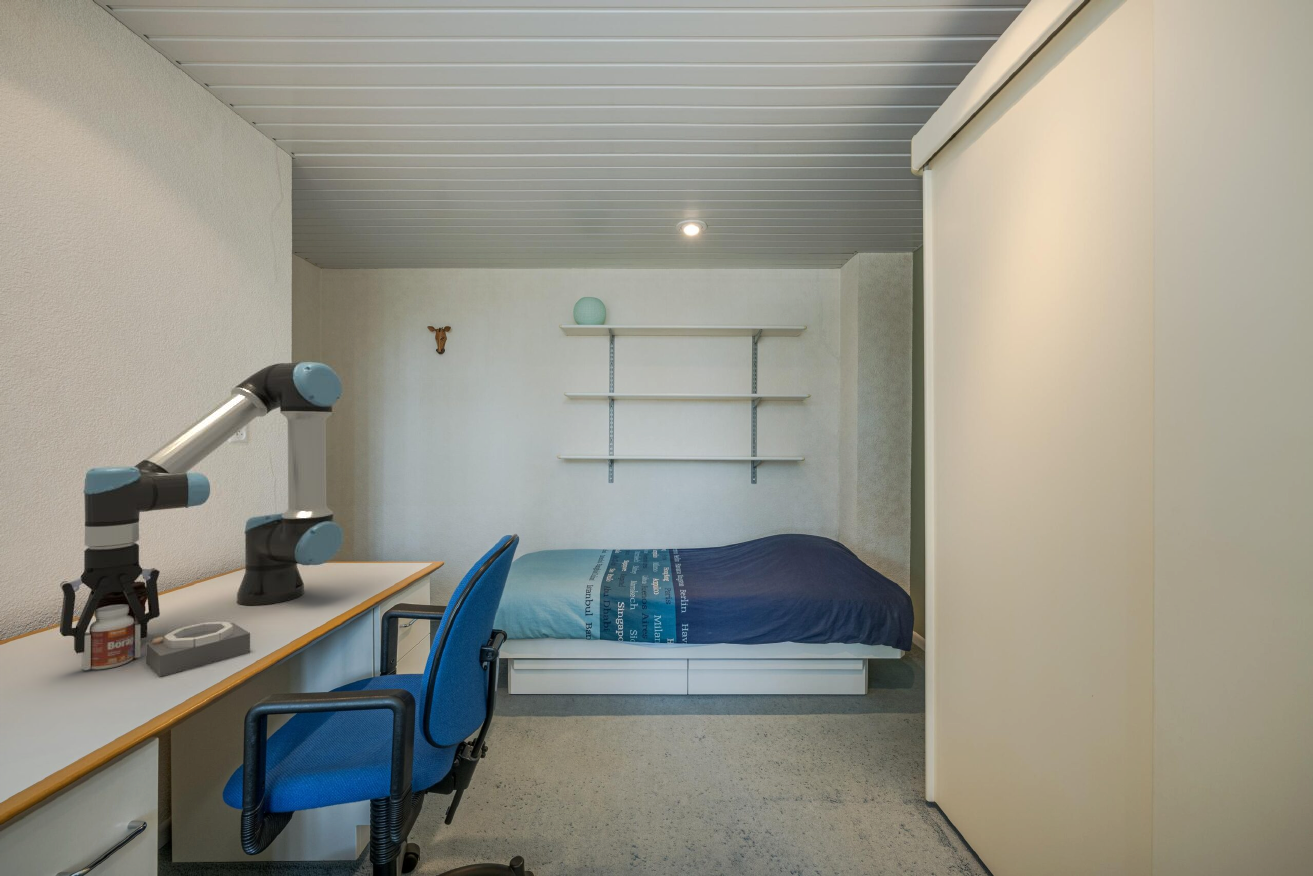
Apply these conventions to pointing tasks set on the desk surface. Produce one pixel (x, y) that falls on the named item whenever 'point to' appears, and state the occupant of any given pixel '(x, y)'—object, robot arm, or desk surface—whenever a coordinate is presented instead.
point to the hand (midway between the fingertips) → (111, 661)
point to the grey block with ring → (196, 647)
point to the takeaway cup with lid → (125, 599)
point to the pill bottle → (112, 637)
